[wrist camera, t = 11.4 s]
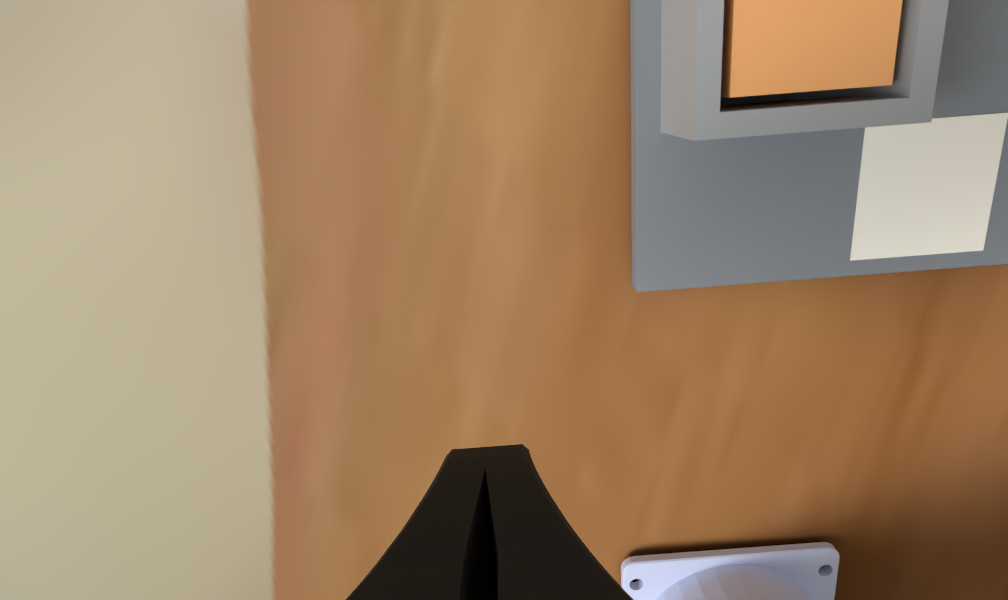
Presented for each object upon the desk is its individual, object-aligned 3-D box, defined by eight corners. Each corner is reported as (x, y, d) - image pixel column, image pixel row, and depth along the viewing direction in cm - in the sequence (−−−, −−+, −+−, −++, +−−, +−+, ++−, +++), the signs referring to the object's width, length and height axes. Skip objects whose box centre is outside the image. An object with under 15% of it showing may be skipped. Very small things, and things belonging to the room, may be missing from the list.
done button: (837, 85, 17) (891, 85, 14) (697, 96, 17) (730, 97, 14) (853, -75, 15) (915, -103, 13) (701, -63, 15) (737, -89, 13)
